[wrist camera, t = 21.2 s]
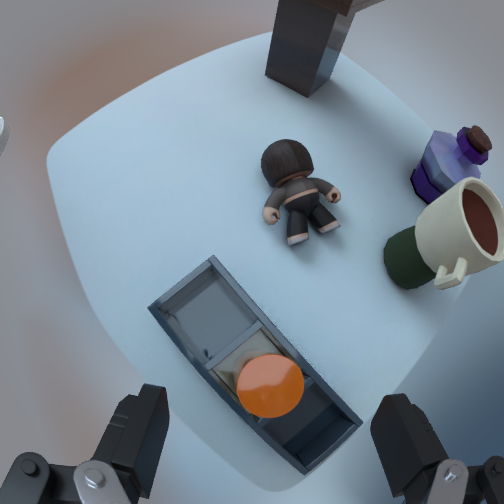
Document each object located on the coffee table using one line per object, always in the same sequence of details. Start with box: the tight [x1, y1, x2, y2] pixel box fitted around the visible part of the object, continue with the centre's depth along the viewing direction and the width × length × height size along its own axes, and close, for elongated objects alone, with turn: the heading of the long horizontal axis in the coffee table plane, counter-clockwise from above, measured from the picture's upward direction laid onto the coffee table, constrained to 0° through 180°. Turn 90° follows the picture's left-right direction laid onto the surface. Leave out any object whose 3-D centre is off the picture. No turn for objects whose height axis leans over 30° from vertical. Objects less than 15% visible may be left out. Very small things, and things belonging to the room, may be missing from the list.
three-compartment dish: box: [147, 255, 363, 475], centre depth 22 cm, size 7×19×4 cm, turn 41°
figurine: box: [261, 139, 341, 246], centre depth 27 cm, size 8×5×10 cm
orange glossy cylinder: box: [232, 349, 304, 418], centre depth 19 cm, size 4×4×8 cm
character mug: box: [384, 177, 504, 290], centre depth 22 cm, size 11×7×13 cm, turn 146°
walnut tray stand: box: [265, 0, 384, 98], centre depth 27 cm, size 14×11×18 cm
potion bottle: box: [410, 126, 492, 205], centre depth 26 cm, size 9×9×12 cm
